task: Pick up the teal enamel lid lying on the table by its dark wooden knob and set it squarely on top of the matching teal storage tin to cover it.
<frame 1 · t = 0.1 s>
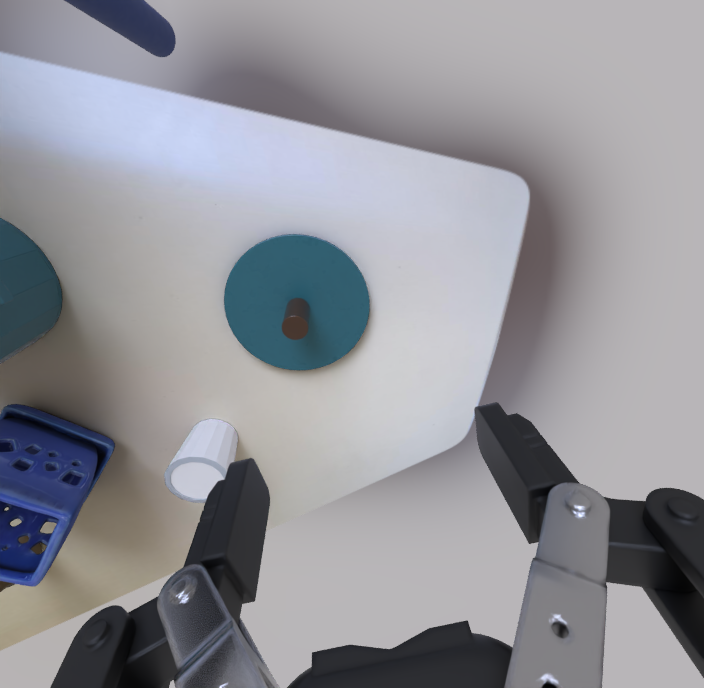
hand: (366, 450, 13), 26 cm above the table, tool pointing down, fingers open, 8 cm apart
flower pot: (59, 444, 44), on the table
shot glass: (215, 435, 45), on the table
lid: (298, 307, 38), point 1 cm above the table
kendama: (25, 540, 51), on the table
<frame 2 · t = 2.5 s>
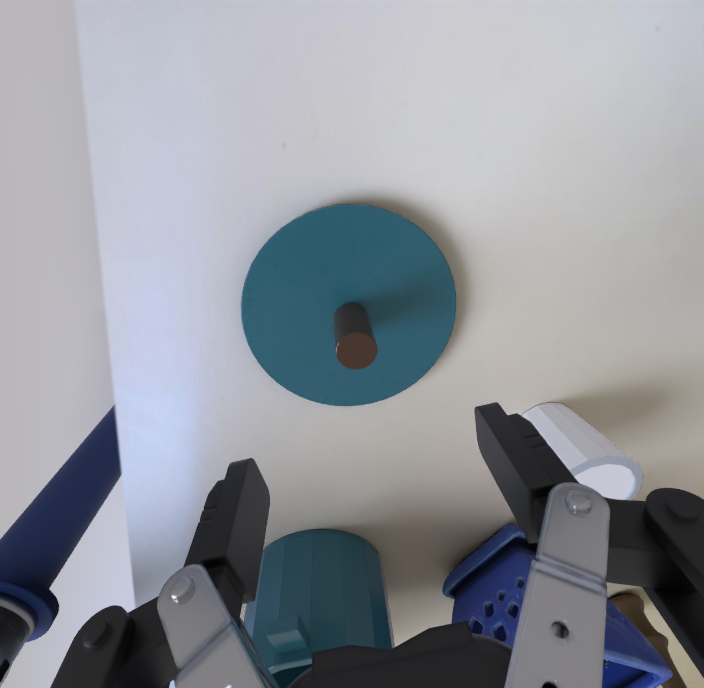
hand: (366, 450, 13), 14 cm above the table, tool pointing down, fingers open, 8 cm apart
flower pot: (504, 557, 41), on the table
tin: (318, 571, 39), on the table
shot glass: (541, 427, 32), on the table
lid: (350, 316, 25), point 1 cm above the table
kendama: (616, 600, 46), on the table
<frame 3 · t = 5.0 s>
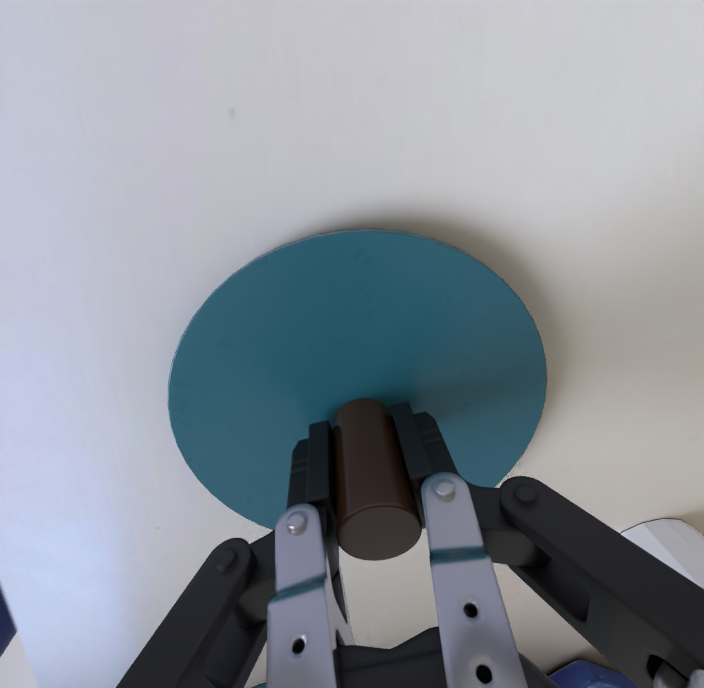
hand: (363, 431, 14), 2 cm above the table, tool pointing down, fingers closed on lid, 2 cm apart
shot glass: (643, 547, 22), on the table
lid: (361, 414, 15), point 1 cm above the table, touching gripper
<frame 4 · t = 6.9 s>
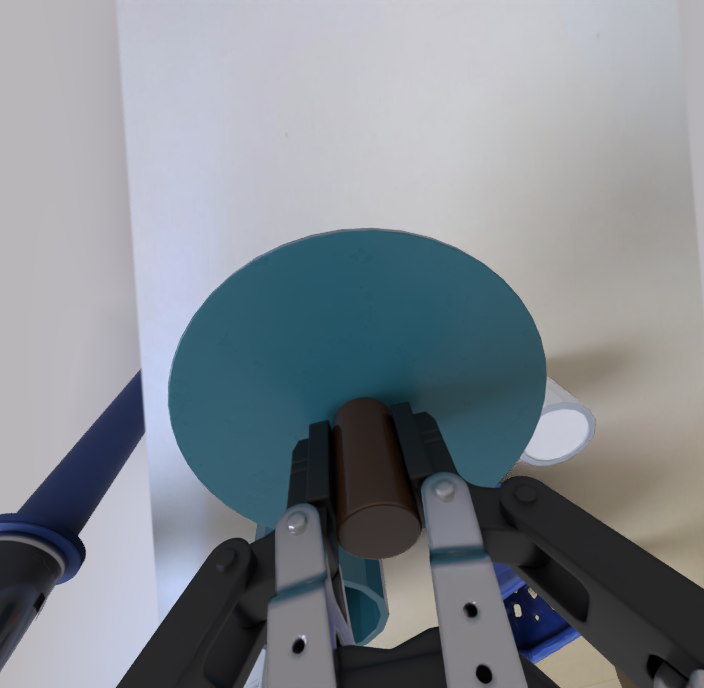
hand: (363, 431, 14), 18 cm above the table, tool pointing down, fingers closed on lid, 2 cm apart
flower pot: (485, 512, 45), on the table
cosmetic box: (275, 586, 49), on the table
tin: (317, 521, 43), on the table
shot glass: (514, 387, 36), on the table
lid: (361, 414, 15), point 17 cm above the table, touching gripper
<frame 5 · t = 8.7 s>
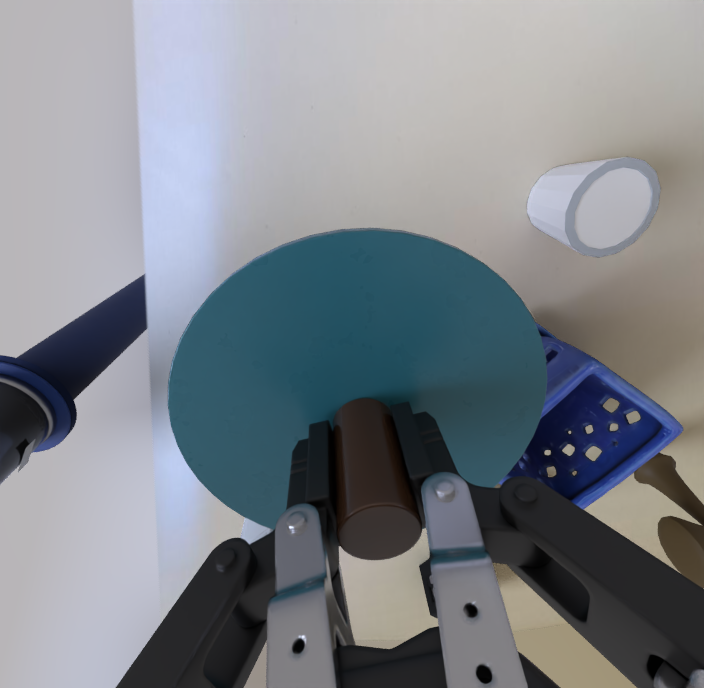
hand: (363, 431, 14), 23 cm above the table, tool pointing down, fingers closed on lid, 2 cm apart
flower pot: (514, 374, 41), on the table
cosmetic box: (282, 465, 45), on the table
digital camera: (453, 567, 57), on the table
shot glass: (557, 199, 33), on the table
lid: (361, 414, 15), point 22 cm above the table, touching gripper
kendama: (624, 440, 47), on the table
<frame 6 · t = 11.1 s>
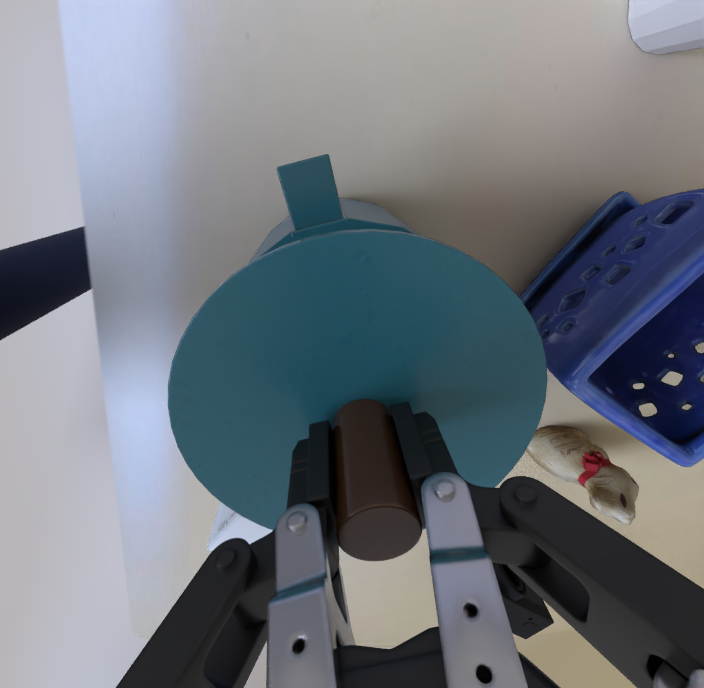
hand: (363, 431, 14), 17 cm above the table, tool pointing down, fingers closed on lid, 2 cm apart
flower pot: (586, 287, 31), on the table
cosmetic box: (277, 419, 35), on the table
tin: (342, 289, 29), on the table
digital camera: (490, 554, 47), on the table
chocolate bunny: (556, 441, 39), on the table
lid: (361, 415, 15), point 16 cm above the table, touching gripper
when the fingers open (11 cm above the table, at t = 12.7 s): lid stays where it is, resting on tin.
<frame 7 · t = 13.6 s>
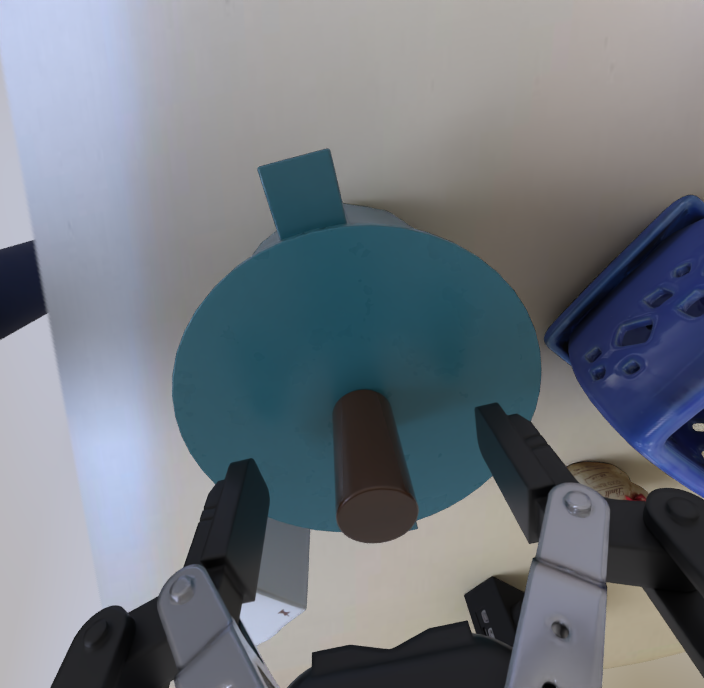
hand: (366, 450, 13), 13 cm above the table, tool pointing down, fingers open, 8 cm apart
flower pot: (634, 307, 26), on the table
cosmetic box: (271, 457, 30), on the table
tin: (346, 312, 25), on the table
digital camera: (510, 595, 42), on the table
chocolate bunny: (589, 478, 34), on the table
lid: (360, 405, 15), point 10 cm above the table, touching tin
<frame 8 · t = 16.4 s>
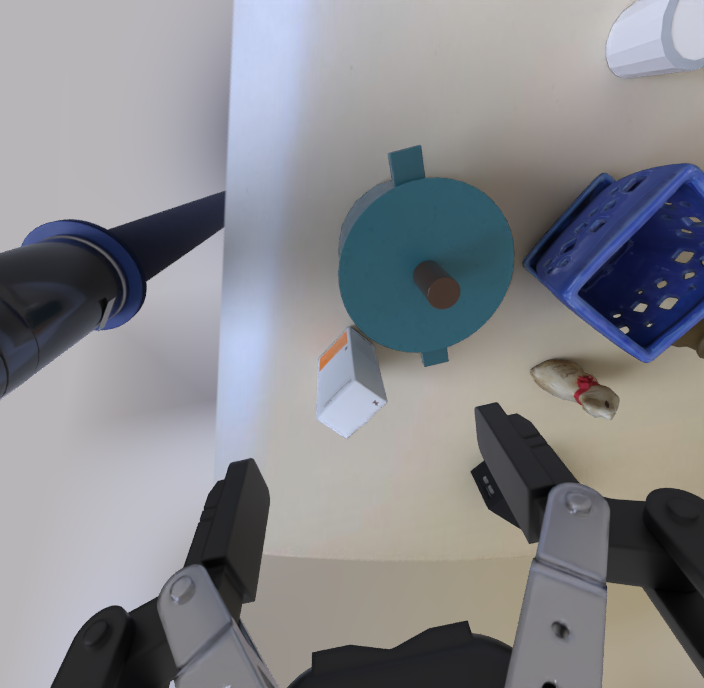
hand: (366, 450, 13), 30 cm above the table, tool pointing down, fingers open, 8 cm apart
flower pot: (579, 246, 42), on the table
cosmetic box: (345, 350, 45), on the table
tin: (401, 246, 40), on the table
digital camera: (504, 474, 57), on the table
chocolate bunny: (557, 373, 49), on the table
shot glass: (635, 40, 33), on the table
lid: (425, 273, 31), point 10 cm above the table, touching tin
kendama: (681, 325, 47), on the table
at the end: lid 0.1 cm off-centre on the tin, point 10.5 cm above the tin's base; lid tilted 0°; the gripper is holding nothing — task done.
